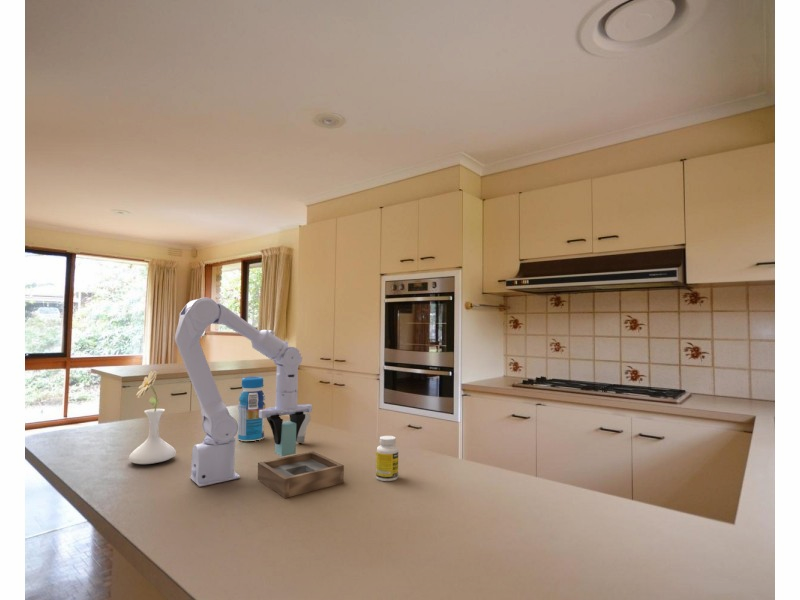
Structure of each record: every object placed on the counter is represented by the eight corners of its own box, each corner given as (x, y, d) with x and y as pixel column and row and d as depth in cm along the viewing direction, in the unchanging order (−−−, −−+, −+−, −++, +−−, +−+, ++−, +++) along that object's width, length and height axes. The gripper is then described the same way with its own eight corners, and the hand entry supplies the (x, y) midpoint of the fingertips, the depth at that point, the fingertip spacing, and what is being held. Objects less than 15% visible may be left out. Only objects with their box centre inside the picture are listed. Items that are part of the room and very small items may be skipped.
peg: (281, 456, 114) (282, 425, 115) (275, 453, 117) (275, 422, 118) (295, 453, 117) (296, 423, 117) (289, 450, 120) (289, 420, 120)
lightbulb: (312, 441, 141) (313, 406, 142) (306, 446, 135) (307, 410, 135) (294, 440, 141) (294, 406, 142) (287, 446, 135) (288, 410, 136)
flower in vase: (133, 457, 123) (136, 368, 124) (178, 453, 127) (181, 367, 128) (122, 472, 111) (126, 372, 112) (172, 467, 115) (175, 371, 116)
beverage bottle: (231, 441, 140) (233, 378, 142) (248, 435, 149) (249, 376, 150) (254, 443, 138) (255, 379, 139) (269, 437, 146) (271, 376, 147)
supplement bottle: (395, 482, 104) (395, 440, 105) (373, 481, 105) (373, 439, 106) (400, 475, 109) (400, 435, 110) (379, 473, 110) (379, 434, 111)
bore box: (284, 498, 94) (284, 479, 95) (257, 479, 106) (257, 462, 106) (343, 482, 104) (343, 465, 104) (313, 466, 115) (313, 451, 116)
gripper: (266, 395, 110) (265, 450, 109) (318, 390, 120) (317, 440, 119) (256, 391, 116) (254, 444, 115) (305, 387, 125) (304, 435, 124)
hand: (285, 442), depth 117 cm, fingers closed on peg, 4 cm apart
